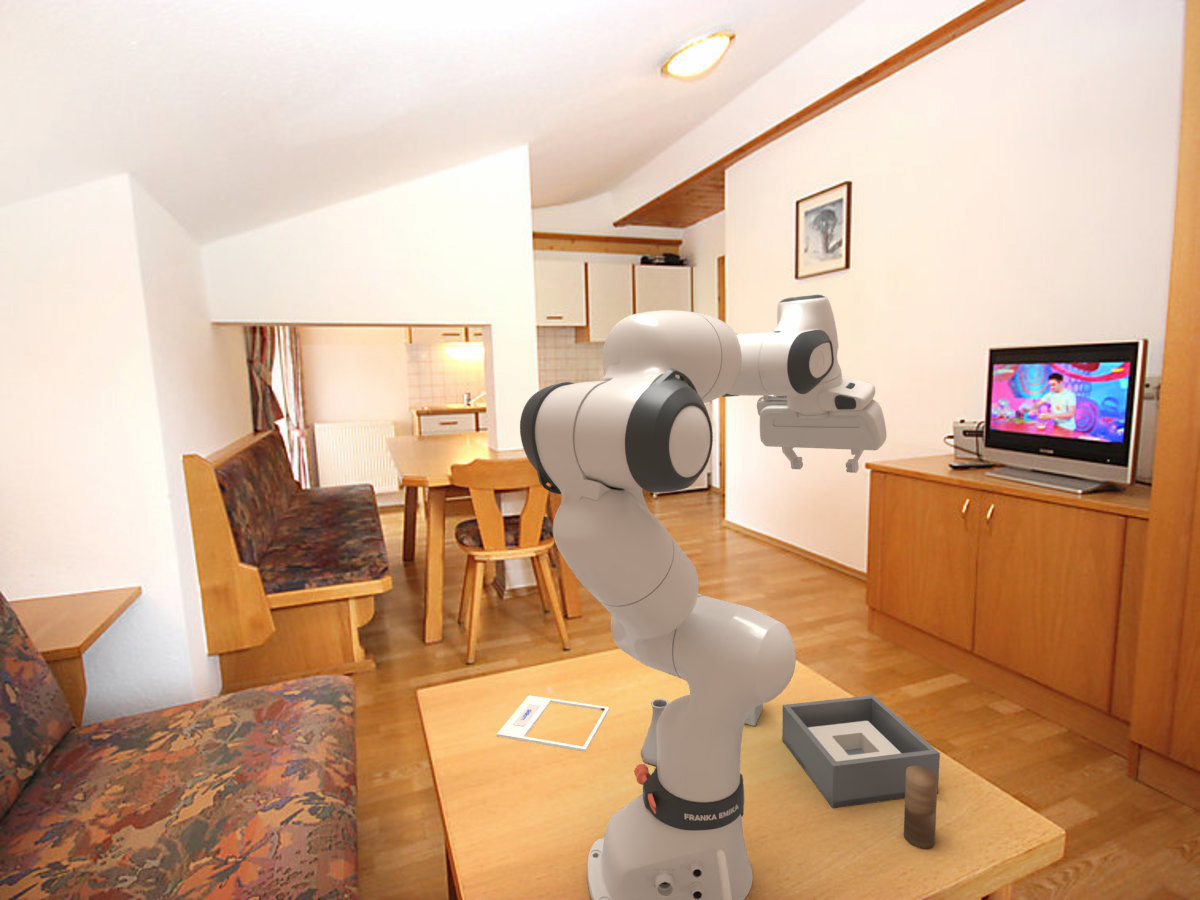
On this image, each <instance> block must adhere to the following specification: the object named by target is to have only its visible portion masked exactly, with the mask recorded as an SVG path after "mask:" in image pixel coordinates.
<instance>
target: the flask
mask: <svg viewBox="0 0 1200 900" xmlns="http://www.w3.org/2000/svg"><path fill="white" fill-rule="evenodd" d="M669 703H670V702H669V701H668V699H665V698H661V697H660V698H653V699H652V700H651V702H650V704H651V708H652V715H651V721H650V725H649V728H648V731H647V733H646V736H645V740H644V742H643V745H642V746H641V749H640V750H641V751H640V753H641V757H642V760H643V762H644V763H645V764H646V763H647V764H650V765H653V766H655V767H656V766H657V722H658V719H659V717H660V715H661V713H662V711H663V710H664V708H665V707H666V706H667V705H668V704H669Z"/></svg>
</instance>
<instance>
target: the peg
mask: <svg viewBox="0 0 1200 900" xmlns="http://www.w3.org/2000/svg"><path fill="white" fill-rule="evenodd" d="M937 781H938V778H937V775H936V774H935V773H934V772H933V771H931V770H930V769H928V768H925V767H922V766H910V767H908V768H907V769H906V786H905V798H904V815H903V816H904V817H903V836H904V837H903V838H905V841H906V842H907V843H909V844H910V845H911V846H913V847H915V848H917V849H922V850H930V849H932V848H933V847H935V844H936V822H937V821H936V820H937V803H938V802H937V801H938V799H937V798H938V794H937Z"/></svg>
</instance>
